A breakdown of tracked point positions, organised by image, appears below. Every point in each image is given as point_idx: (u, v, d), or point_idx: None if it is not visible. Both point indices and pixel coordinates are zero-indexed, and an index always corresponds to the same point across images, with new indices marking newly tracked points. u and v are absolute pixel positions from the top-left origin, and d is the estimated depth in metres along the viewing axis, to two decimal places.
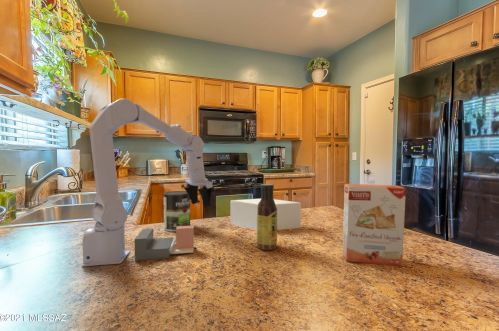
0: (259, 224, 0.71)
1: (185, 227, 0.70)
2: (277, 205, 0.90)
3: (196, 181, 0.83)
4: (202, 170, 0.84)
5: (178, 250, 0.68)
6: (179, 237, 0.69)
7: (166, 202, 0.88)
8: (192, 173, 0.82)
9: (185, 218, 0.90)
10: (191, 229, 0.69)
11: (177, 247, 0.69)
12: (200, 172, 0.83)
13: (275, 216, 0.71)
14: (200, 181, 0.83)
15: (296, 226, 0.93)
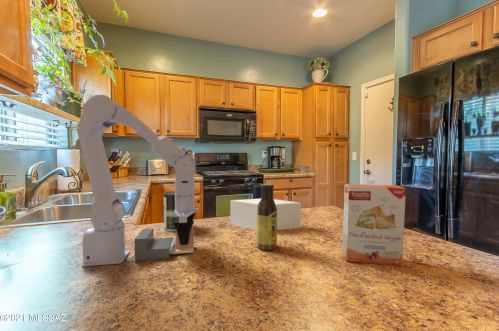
0: (259, 224, 0.71)
1: None
2: (277, 205, 0.90)
3: (177, 210, 0.68)
4: (187, 198, 0.67)
5: (178, 250, 0.68)
6: None
7: (166, 202, 0.88)
8: (175, 199, 0.68)
9: None
10: (191, 229, 0.69)
11: (177, 247, 0.69)
12: (183, 200, 0.67)
13: (275, 216, 0.71)
14: (181, 211, 0.67)
15: (296, 226, 0.93)
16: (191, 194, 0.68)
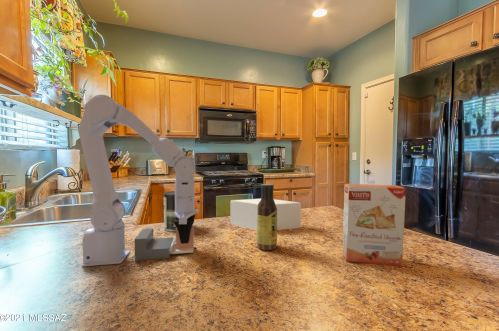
0: (259, 224, 0.71)
1: None
2: (277, 205, 0.90)
3: (177, 211, 0.68)
4: (187, 199, 0.67)
5: (178, 250, 0.68)
6: (179, 237, 0.69)
7: (166, 202, 0.88)
8: (175, 201, 0.68)
9: None
10: (191, 229, 0.69)
11: (177, 247, 0.69)
12: (183, 201, 0.67)
13: (274, 216, 0.71)
14: (181, 212, 0.67)
15: (296, 226, 0.93)
16: (191, 195, 0.68)
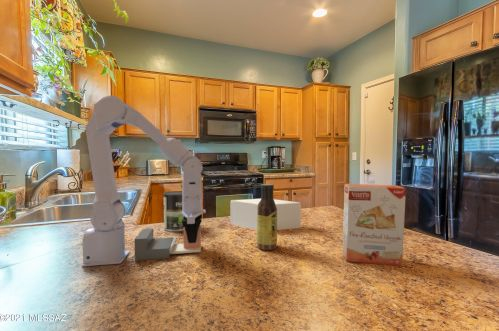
0: (259, 224, 0.71)
1: None
2: (277, 205, 0.90)
3: (185, 211, 0.68)
4: (194, 199, 0.68)
5: (186, 249, 0.68)
6: None
7: (166, 202, 0.88)
8: (183, 200, 0.69)
9: None
10: (198, 229, 0.70)
11: (184, 246, 0.69)
12: (190, 201, 0.68)
13: (275, 216, 0.71)
14: (189, 212, 0.68)
15: (296, 226, 0.93)
16: (198, 195, 0.69)
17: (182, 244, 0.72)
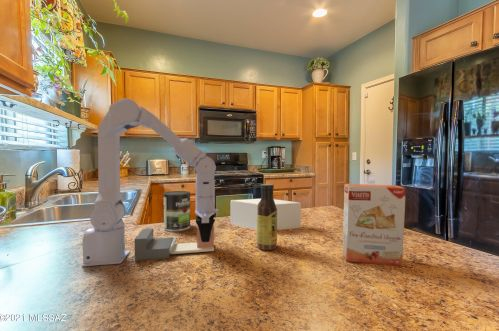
0: (259, 224, 0.71)
1: None
2: (277, 205, 0.90)
3: (198, 210, 0.69)
4: (208, 199, 0.69)
5: (199, 248, 0.69)
6: (200, 236, 0.70)
7: (166, 202, 0.88)
8: (196, 200, 0.69)
9: (185, 218, 0.90)
10: None
11: (198, 246, 0.70)
12: (204, 201, 0.68)
13: (274, 216, 0.71)
14: (202, 211, 0.68)
15: (296, 226, 0.93)
16: (212, 195, 0.69)
17: (195, 243, 0.73)
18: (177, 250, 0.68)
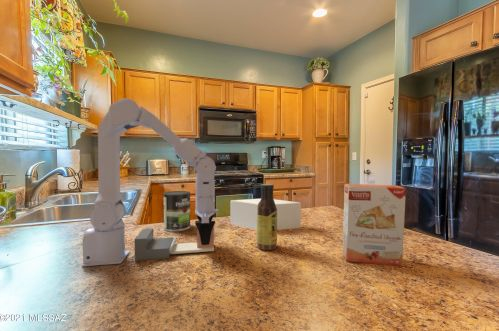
0: (259, 224, 0.71)
1: None
2: (277, 205, 0.90)
3: (198, 210, 0.69)
4: (208, 199, 0.69)
5: (199, 248, 0.69)
6: None
7: (166, 202, 0.88)
8: (196, 200, 0.69)
9: (185, 218, 0.90)
10: None
11: (198, 246, 0.70)
12: (204, 201, 0.68)
13: (274, 216, 0.71)
14: (202, 211, 0.68)
15: (296, 226, 0.93)
16: (212, 195, 0.69)
17: (195, 243, 0.73)
18: (177, 250, 0.68)
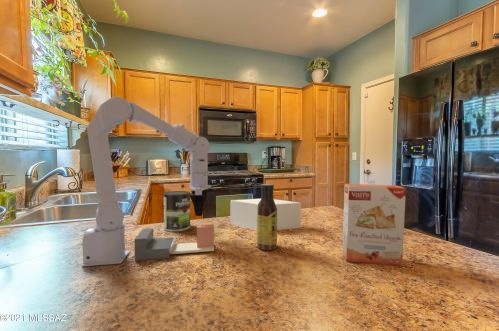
0: (259, 224, 0.71)
1: (206, 226, 0.71)
2: (277, 205, 0.90)
3: (192, 185, 0.76)
4: (201, 175, 0.76)
5: (199, 248, 0.69)
6: (200, 236, 0.70)
7: (166, 202, 0.88)
8: (191, 176, 0.77)
9: (185, 218, 0.90)
10: (211, 228, 0.71)
11: (198, 246, 0.70)
12: (198, 176, 0.75)
13: (275, 216, 0.71)
14: (196, 186, 0.75)
15: (296, 226, 0.93)
16: (206, 171, 0.77)
17: (195, 243, 0.73)
18: (177, 250, 0.68)
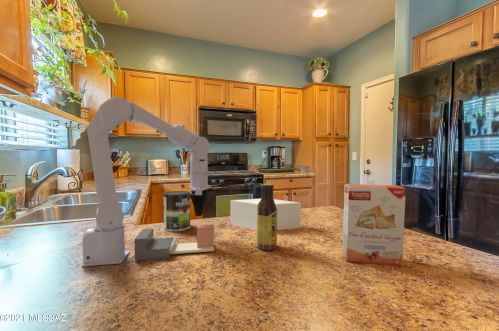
0: (259, 224, 0.71)
1: (206, 226, 0.71)
2: (277, 205, 0.90)
3: (192, 185, 0.76)
4: (201, 175, 0.76)
5: (199, 248, 0.69)
6: (200, 236, 0.70)
7: (166, 202, 0.88)
8: (191, 176, 0.77)
9: (185, 218, 0.90)
10: (211, 228, 0.71)
11: (198, 246, 0.70)
12: (198, 176, 0.75)
13: (274, 216, 0.71)
14: (196, 186, 0.75)
15: (296, 226, 0.93)
16: (206, 171, 0.77)
17: (195, 243, 0.73)
18: (177, 250, 0.68)
